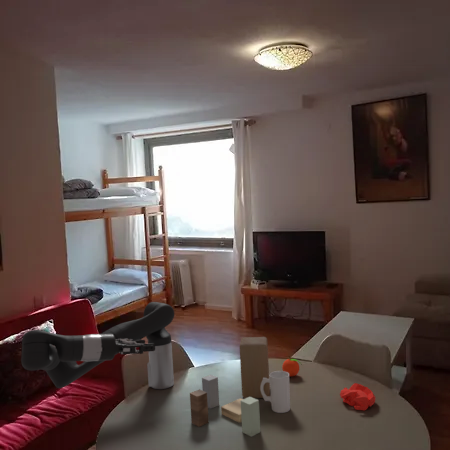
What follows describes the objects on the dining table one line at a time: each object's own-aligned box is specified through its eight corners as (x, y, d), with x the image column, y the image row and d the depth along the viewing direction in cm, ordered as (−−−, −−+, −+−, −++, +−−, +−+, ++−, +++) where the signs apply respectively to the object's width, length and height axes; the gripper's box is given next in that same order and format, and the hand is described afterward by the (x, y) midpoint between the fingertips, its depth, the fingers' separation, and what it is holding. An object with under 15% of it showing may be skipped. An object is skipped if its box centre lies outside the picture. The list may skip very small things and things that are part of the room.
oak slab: (239, 424, 147) (239, 415, 147) (221, 415, 154) (221, 406, 153) (259, 414, 153) (258, 405, 153) (241, 406, 159) (240, 398, 159)
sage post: (251, 436, 138) (249, 404, 137) (242, 432, 141) (240, 400, 140) (260, 431, 140) (258, 400, 140) (251, 427, 143) (249, 396, 143)
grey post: (210, 408, 158) (208, 380, 158) (203, 405, 161) (201, 377, 161) (219, 405, 161) (217, 377, 160) (212, 401, 164) (210, 374, 163)
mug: (290, 404, 158) (289, 370, 157) (291, 413, 151) (289, 378, 151) (262, 404, 159) (260, 370, 159) (260, 413, 153) (259, 378, 152)
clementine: (303, 373, 186) (302, 356, 186) (302, 379, 179) (301, 362, 179) (283, 372, 188) (282, 355, 187) (281, 379, 181) (280, 361, 181)
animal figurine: (368, 392, 165) (367, 378, 165) (379, 411, 150) (379, 395, 150) (336, 393, 166) (335, 379, 166) (344, 411, 151) (343, 396, 151)
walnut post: (198, 427, 145) (197, 396, 145) (191, 423, 148) (189, 393, 148) (208, 422, 148) (206, 392, 148) (201, 418, 151) (199, 389, 151)
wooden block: (269, 387, 173) (267, 336, 172) (269, 398, 163) (267, 344, 162) (243, 387, 174) (240, 336, 173) (242, 399, 164) (239, 344, 163)
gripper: (89, 356, 137) (141, 354, 145) (102, 365, 124) (157, 361, 133) (91, 331, 138) (142, 330, 146) (104, 337, 125) (159, 335, 133)
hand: (149, 345), depth 139 cm, fingers open, 8 cm apart
